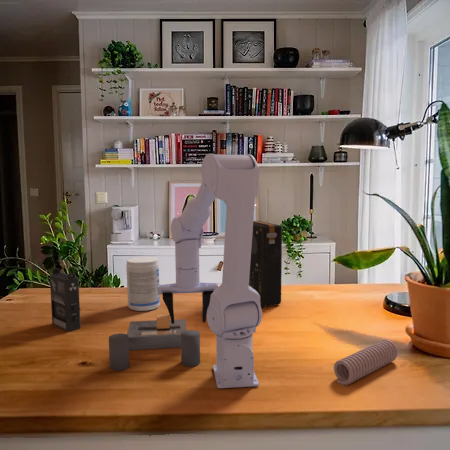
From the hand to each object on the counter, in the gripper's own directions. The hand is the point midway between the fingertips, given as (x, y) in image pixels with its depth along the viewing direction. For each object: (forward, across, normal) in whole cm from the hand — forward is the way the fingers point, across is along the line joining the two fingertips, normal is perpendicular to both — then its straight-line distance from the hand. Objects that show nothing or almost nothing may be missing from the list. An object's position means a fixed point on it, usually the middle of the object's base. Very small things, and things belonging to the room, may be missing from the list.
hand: (188, 321), depth 109 cm
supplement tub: (+4, +13, -27) cm, 30 cm away
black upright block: (+4, -23, -29) cm, 38 cm away
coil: (+5, -36, +22) cm, 42 cm away
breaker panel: (+4, +8, 0) cm, 9 cm away
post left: (+4, +15, +14) cm, 21 cm away
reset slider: (+1, +6, 0) cm, 6 cm away
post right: (+4, 0, +14) cm, 15 cm away
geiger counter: (+4, +32, -13) cm, 34 cm away
